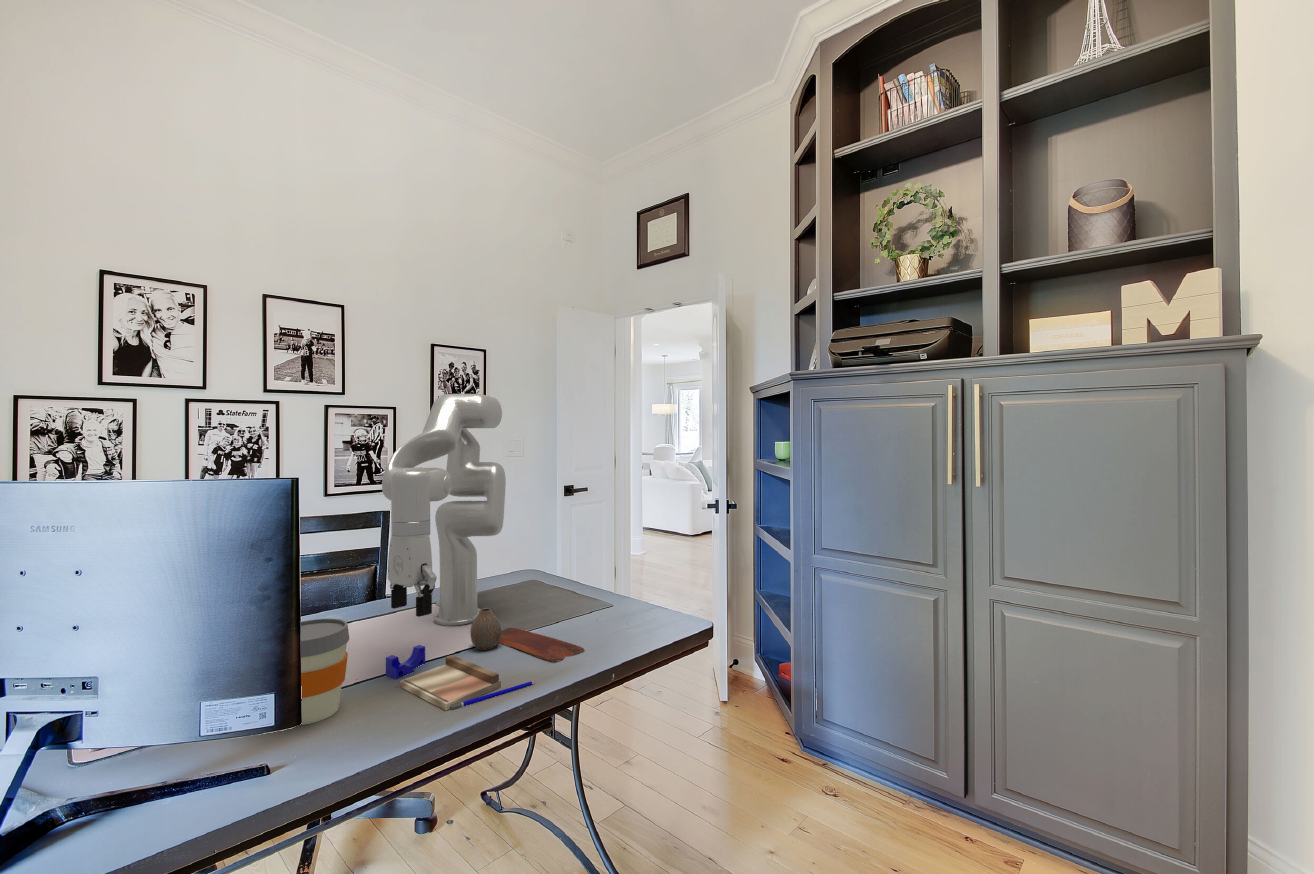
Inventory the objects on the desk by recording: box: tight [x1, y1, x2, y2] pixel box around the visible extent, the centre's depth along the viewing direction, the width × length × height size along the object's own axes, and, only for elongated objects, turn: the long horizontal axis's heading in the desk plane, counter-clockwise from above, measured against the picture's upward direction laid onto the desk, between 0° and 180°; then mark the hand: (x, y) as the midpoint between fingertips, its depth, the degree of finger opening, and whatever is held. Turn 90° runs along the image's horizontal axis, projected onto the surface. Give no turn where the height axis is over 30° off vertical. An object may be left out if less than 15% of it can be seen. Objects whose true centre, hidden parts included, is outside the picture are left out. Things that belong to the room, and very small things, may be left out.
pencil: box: [449, 681, 537, 711], centre depth 108 cm, size 17×1×1 cm, turn 129°
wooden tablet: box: [497, 627, 585, 664], centre depth 135 cm, size 27×10×2 cm, turn 52°
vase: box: [469, 607, 502, 651], centre depth 133 cm, size 7×7×9 cm
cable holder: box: [385, 644, 426, 680], centre depth 120 cm, size 8×4×4 cm, turn 150°
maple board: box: [399, 654, 502, 712], centre depth 112 cm, size 16×12×3 cm
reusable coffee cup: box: [300, 618, 350, 726], centre depth 102 cm, size 12×13×15 cm
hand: (411, 610), depth 119 cm, fingers open, 9 cm apart
